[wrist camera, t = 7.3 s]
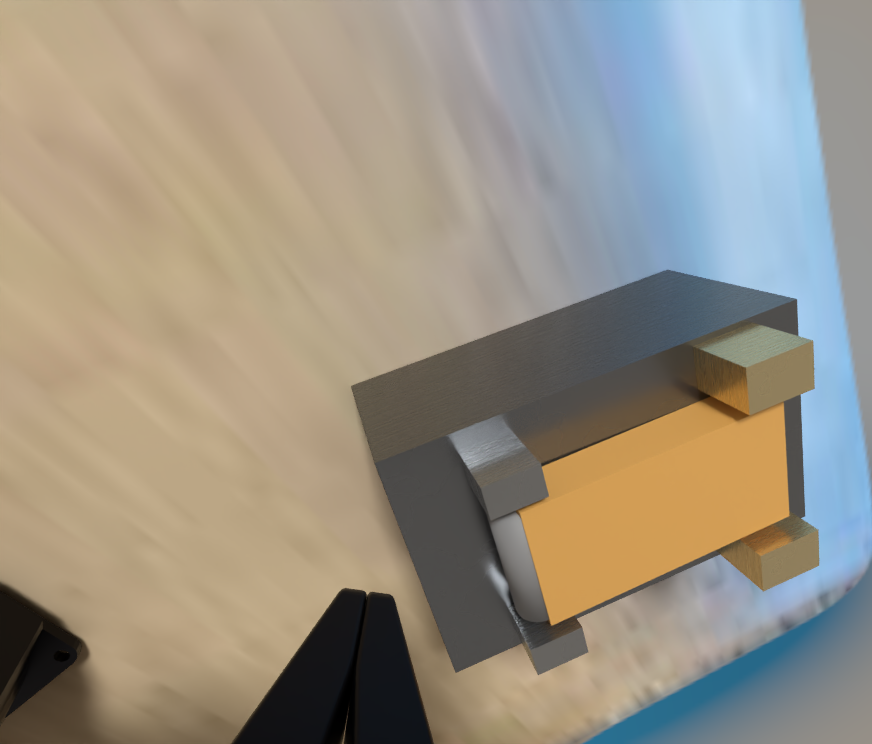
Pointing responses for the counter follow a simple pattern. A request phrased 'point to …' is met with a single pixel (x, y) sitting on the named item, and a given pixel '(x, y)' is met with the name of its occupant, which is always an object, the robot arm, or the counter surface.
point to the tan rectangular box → (643, 506)
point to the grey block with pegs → (574, 436)
